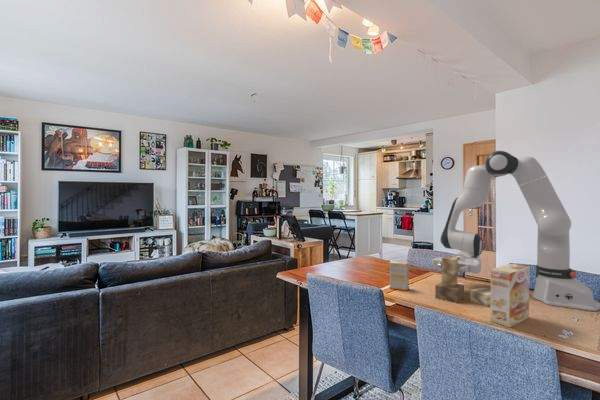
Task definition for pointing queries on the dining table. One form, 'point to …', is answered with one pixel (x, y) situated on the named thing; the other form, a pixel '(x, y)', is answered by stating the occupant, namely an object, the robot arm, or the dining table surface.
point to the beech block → (481, 296)
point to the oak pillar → (449, 271)
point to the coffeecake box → (509, 294)
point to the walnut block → (449, 292)
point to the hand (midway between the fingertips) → (449, 268)
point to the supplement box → (399, 275)
